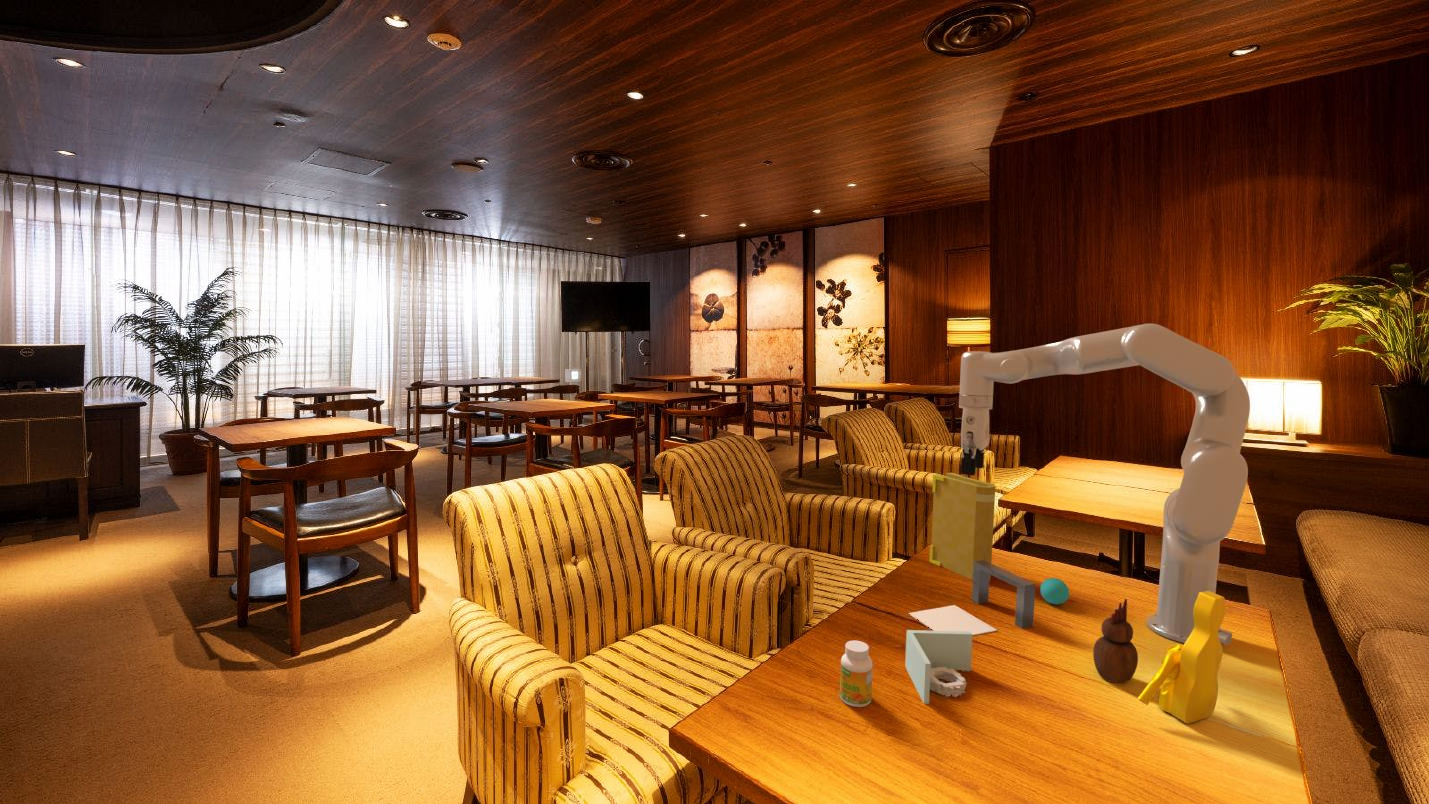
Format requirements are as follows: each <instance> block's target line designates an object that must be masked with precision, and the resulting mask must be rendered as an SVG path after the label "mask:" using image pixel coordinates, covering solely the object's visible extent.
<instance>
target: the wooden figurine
mask: <svg viewBox="0 0 1429 804" xmlns="http://www.w3.org/2000/svg"><path fill="white" fill-rule="evenodd" d="M1127 601H1128V599H1127V598H1125V599H1124V602H1123V605H1122V602H1119V603H1118V607H1117V608H1115V609H1114V613H1111V616H1110V617H1106V618H1105V619H1104V620H1103V622H1102V624H1101V633H1102V635H1103V636H1100V637H1099V638H1098V639H1097V640H1096V641H1095V643H1094V646H1093V653H1092V654H1093V655H1092V656H1093V662H1094V666H1095V669H1096V671H1097V673H1098V675H1099V676H1100V677H1101V678H1102V679H1104V680H1106V681H1108V682H1113V683H1120V684H1121V683H1126V682H1129V681H1130V680H1131V679H1132V678H1133V676H1134V675H1135V673H1136V670H1137V669H1138V662H1139V654H1138V651H1137V648H1136V646H1135V645H1134V643H1133V642H1132V640H1133V637H1134V629H1133V626H1132V625H1131V623H1130V622H1128V620H1127V618H1128V617H1127V615H1128V613H1127V612H1128V610H1127V609H1128V602H1127Z"/></svg>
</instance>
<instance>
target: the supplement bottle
mask: <svg viewBox="0 0 1429 804" xmlns="http://www.w3.org/2000/svg"><path fill="white" fill-rule="evenodd" d="M844 646H845V649H844V650H845V651H844V652H845V653H844V654H843V655H842V656H841V659H840V676H839V677H840V680H839V682H840V683H839V697H840V700H841V701H842V702H843V703H844V704H846V705H848V706H850V707H855V708H863V707H867V706H869V705H870V704H871V702H872V696H873V695H872V692H873V667H874V666H873V661H872V658H871V657H870V656H869V654H870V647H869V644H867V643H866V642H863V641H860V640H849V641H847V642H846V643H845V645H844Z"/></svg>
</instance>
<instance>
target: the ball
mask: <svg viewBox="0 0 1429 804" xmlns="http://www.w3.org/2000/svg"><path fill="white" fill-rule="evenodd" d="M1039 591H1040V595H1041V596H1042V598H1043V599H1044V600H1045V601H1046V602H1047V603H1049V604H1051V605H1062V604H1064V603H1066V601H1068V599H1069V597H1070V590H1069V586H1068V585H1067V584H1066V583H1065V582H1064V581H1063V580H1061V579H1060V578H1056V577H1050V578H1046V579H1045V580H1044V581H1043V582H1041V585H1040V588H1039Z"/></svg>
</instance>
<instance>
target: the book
mask: <svg viewBox="0 0 1429 804" xmlns="http://www.w3.org/2000/svg"><path fill="white" fill-rule="evenodd" d="M932 493H933V497H932V499H933V500H932V501H933V502H932V517H931V519H932V522H931V542H930V543H931V544H929V561H928V562H929V563H931V564H933V565H936V566H938V567H942V568H945V569H947V570H948V571H951V572H953V573H956V574H957V575H960V576H962V577H964V578H966V577H967V579H968V580H970V581H973V570H974V562H975V561H982V560H985V561H987V562H989V563H991V564H992V556H993V540H994V539H993V538H994V537H993V536H994V521H995V517H994V516H995V501H996V485H995V484H993V483H990V482H986V481H982V480H978V479H975V478H971V477H967V476H963V474H957V473H953V472H946V473H945V475H944V474H943V475H942V474H932ZM991 577H992V575H990V577H989V582H990V581H991V579H992V578H991Z"/></svg>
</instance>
